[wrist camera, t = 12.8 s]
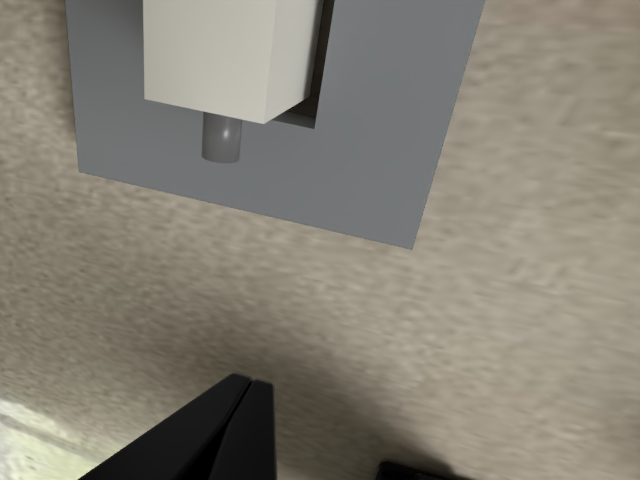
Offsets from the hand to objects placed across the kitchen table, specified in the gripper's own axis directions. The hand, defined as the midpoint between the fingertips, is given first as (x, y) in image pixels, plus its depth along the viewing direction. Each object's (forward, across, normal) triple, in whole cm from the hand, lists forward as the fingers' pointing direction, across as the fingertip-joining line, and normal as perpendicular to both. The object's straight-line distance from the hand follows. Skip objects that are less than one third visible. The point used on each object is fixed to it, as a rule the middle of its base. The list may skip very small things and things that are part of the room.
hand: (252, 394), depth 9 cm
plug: (+11, +4, -7) cm, 14 cm away
